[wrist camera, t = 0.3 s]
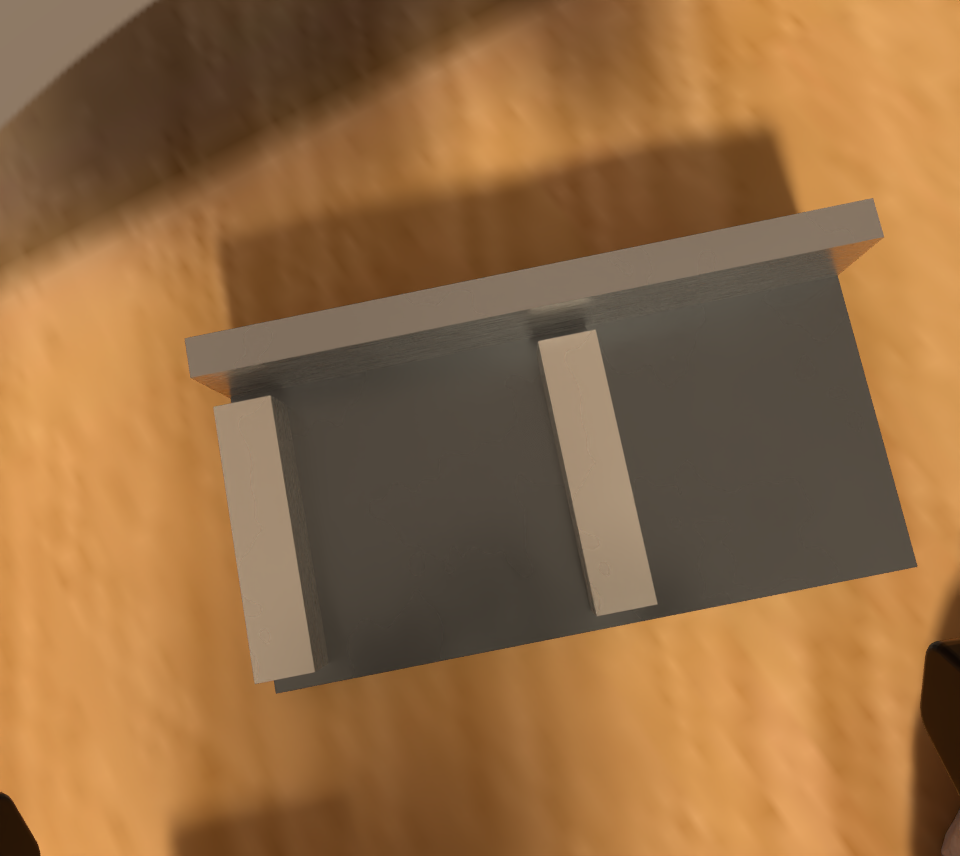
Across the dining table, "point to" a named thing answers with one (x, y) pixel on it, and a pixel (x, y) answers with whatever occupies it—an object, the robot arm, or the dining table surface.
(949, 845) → the stone block
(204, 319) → the dining table surface
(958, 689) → the robot arm
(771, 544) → the grey dock tray
